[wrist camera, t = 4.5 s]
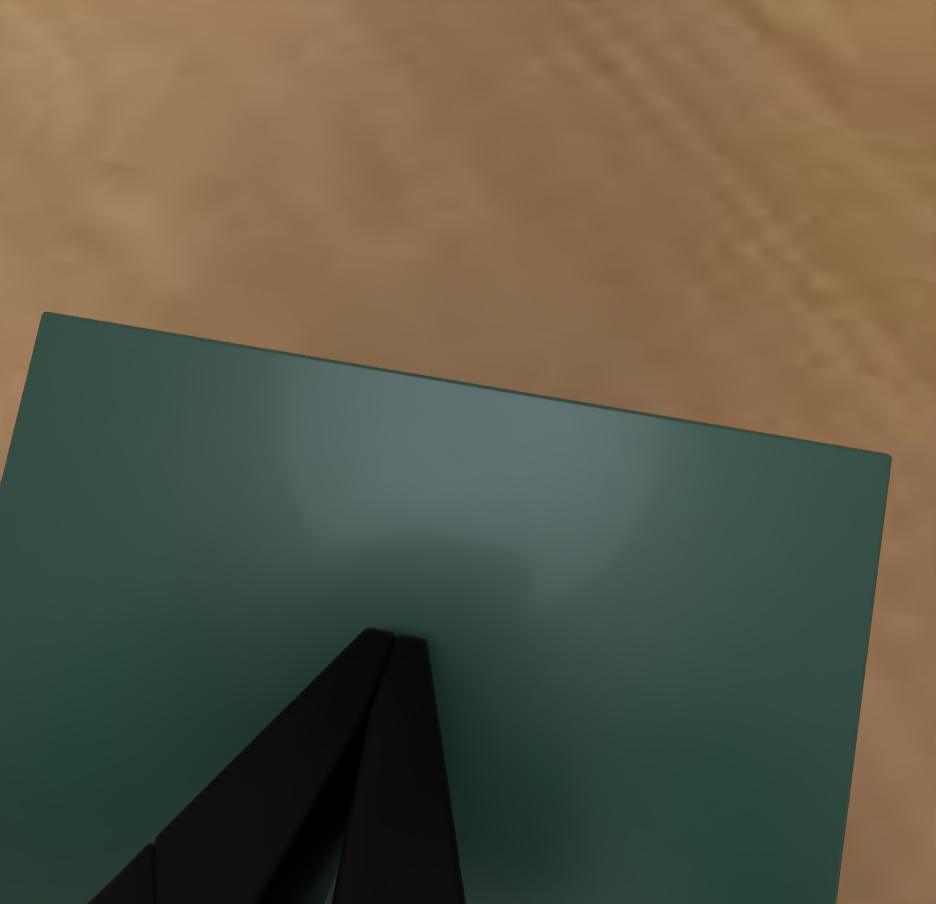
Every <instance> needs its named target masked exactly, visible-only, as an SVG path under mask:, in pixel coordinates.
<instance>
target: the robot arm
mask: <svg viewBox="0 0 936 904" xmlns="http://www.w3.org/2000/svg"><path fill="white" fill-rule="evenodd" d="M338 866H339V868H338ZM337 868H338V873H337V878H336V884H335V889H334V894H333V900H332V904H466V901H465V894H464V887H463V881H462V874H461V867H460V860H459V853H458V846H457V839H456V832H455V825H454V819H453V812H452V805H451V798H450V791H449V784H448V777H447V770H446V763H445V757H444V750H443V743H442V736H441V729H440V722H439V715H438V708H437V701H436V694H435V688H434V681H433V674H432V667H431V660H430V653H429V646H428V641H427V640H426V638H424V637H421V636H416V635H411V634H406V633H400V634H398V635H397V636H396V633H395V632H393V631H391V630H386V629H380V628H375V627H368V628H366V629H364V630H363V631H362V632H361V633H360V634H359V635H358V636H357V637H356V638H355V639H354V640H353V641H352V642H351V643H350V644H349V645H348V646H347V647H346V648H345V649H344V650H343V651H342V652H341V653H340V654H339V655H338V656H337V657H336V658H335V659H334V660H333V661H332V662H331V663H330V664H329V665H328V666H327V667H326V668H325V669H324V670H323V671H322V672H321V673H320V674H319V675H318V676H317V677H316V678H315V679H314V680H313V681H312V682H311V683H310V684H309V685H308V686H307V687H306V688H305V689H304V690H303V691H302V692H301V693H300V694H299V695H298V696H297V697H296V698H294V699H293V700H292V701H291V702H290V703H289V704H288V705H287V706H286V707H285V708H284V709H283V710H282V711H281V712H280V713H279V714H278V715H277V716H276V717H275V718H274V719H273V720H272V721H271V722H270V723H269V724H268V725H267V726H266V727H265V728H264V729H263V730H262V731H261V732H260V733H259V734H258V735H257V736H256V737H255V738H254V739H253V740H252V741H251V742H250V743H249V744H248V745H247V746H246V747H245V748H244V749H243V750H242V751H241V752H240V753H239V754H238V755H237V756H236V757H235V758H234V759H233V760H232V761H231V762H230V763H229V764H228V765H227V766H226V767H225V768H224V769H223V770H222V771H221V772H220V773H219V774H218V775H217V776H216V777H215V778H214V779H213V780H212V781H211V782H210V783H209V784H208V785H207V786H206V787H205V788H204V789H203V790H202V791H201V792H200V793H199V794H198V795H197V796H196V797H195V798H194V799H193V800H192V801H191V802H190V803H189V804H188V805H187V806H186V807H185V808H184V809H183V810H182V811H181V812H180V813H179V814H178V815H177V816H176V817H175V818H174V819H173V820H172V821H171V822H170V823H169V824H168V825H167V826H166V827H165V828H164V829H163V830H162V831H161V832H160V833H159V834H158V835H157V836H156V837H155V842H154V844H152V843H150V844H148V845H146V846H145V847H144V848H143V849H142V850H141V851H140V852H139V853H138V854H137V855H136V856H135V857H134V858H133V859H132V860H131V861H130V862H129V863H128V864H127V865H126V866H125V867H124V868H123V869H122V870H121V871H120V872H119V873H118V874H117V875H116V876H115V877H114V878H113V879H112V880H111V881H110V882H109V883H108V884H107V885H106V886H105V887H104V888H103V889H102V890H101V891H100V892H99V893H98V894H96V895H95V896H94V897H93V898H92V899H91V900H90V901H89V902H88V903H87V904H324V903H325V901H326V898H327V895H328V893H329V890H330V887H331V885H332V882H333V879H334V877H335V874H336V871H337Z"/></svg>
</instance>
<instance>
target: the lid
mask: <svg viewBox="0 0 936 904" xmlns="http://www.w3.org/2000/svg"><path fill="white" fill-rule="evenodd" d="M891 461H892V458H891V456H890V455H888V454H886V453H880V452H874V451H868V450H862V449H856V448H850V447H844V446H838V445H832V444H827V443H821V442H815V441H809V440H803V439H797V438H791V437H785V436H779V435H773V434H767V433H761V432H756V431H750V430H744V429H738V428H732V427H726V426H720V425H714V424H708V423H702V422H696V421H690V420H685V419H679V418H673V417H667V416H661V415H655V414H649V413H643V412H637V411H631V410H625V409H619V408H614V407H608V406H602V405H596V404H590V403H584V402H578V401H572V400H566V399H560V398H554V397H548V396H543V395H537V394H531V393H525V392H519V391H513V390H507V389H501V388H495V387H489V386H483V385H477V384H472V383H466V382H460V381H454V380H448V379H442V378H436V377H430V376H424V375H418V374H412V373H406V372H401V371H395V370H389V369H383V368H377V367H371V366H365V365H359V364H353V363H347V362H341V361H335V360H329V359H324V358H318V357H312V356H306V355H300V354H294V353H288V352H282V351H276V350H270V349H264V348H258V347H253V346H247V345H241V344H235V343H229V342H223V341H217V340H211V339H205V338H199V337H193V336H187V335H182V334H176V333H170V332H164V331H158V330H152V329H146V328H140V327H134V326H128V325H122V324H116V323H111V322H105V321H99V320H93V319H87V318H81V317H75V316H69V315H63V314H57V313H51V312H44V313H43V314H42V316H41V321H40V325H39V329H38V333H37V337H36V341H35V345H34V349H33V353H32V358H31V362H30V366H29V370H28V374H27V378H26V382H25V386H24V390H23V395H22V399H21V403H20V407H19V411H18V415H17V419H16V423H15V427H14V432H13V436H12V440H11V444H10V448H9V452H8V456H7V460H6V464H5V469H4V473H3V477H2V481H1V485H0V904H87V903H88V902H89V901H90V900H91V899H92V898H93V897H94V896H95V895H96V894H98V893H99V892H100V891H101V890H102V889H103V888H104V887H105V886H106V885H107V884H108V883H109V882H110V881H111V880H112V879H113V878H114V877H115V876H116V875H117V874H118V873H119V872H120V871H121V870H122V869H123V868H124V867H125V866H126V865H127V864H128V863H129V862H130V861H131V860H132V859H133V858H134V857H135V856H136V855H137V854H138V853H139V852H140V851H141V850H142V849H143V848H144V847H145V846H146V845H148V844H150V843H152V844H154V842H155V837H156V836H157V835H158V834H159V833H160V832H161V831H162V830H163V829H164V828H165V827H166V826H167V825H168V824H169V823H170V822H171V821H172V820H173V819H174V818H175V817H176V816H177V815H178V814H179V813H180V812H181V811H182V810H183V809H184V808H185V807H186V806H187V805H188V804H189V803H190V802H191V801H192V800H193V799H194V798H195V797H196V796H197V795H198V794H199V793H200V792H201V791H202V790H203V789H204V788H205V787H206V786H207V785H208V784H209V783H210V782H211V781H212V780H213V779H214V778H215V777H216V776H217V775H218V774H219V773H220V772H221V771H222V770H223V769H224V768H225V767H226V766H227V765H228V764H229V763H230V762H231V761H232V760H233V759H234V758H235V757H236V756H237V755H238V754H239V753H240V752H241V751H242V750H243V749H244V748H245V747H246V746H247V745H248V744H249V743H250V742H251V741H252V740H253V739H254V738H255V737H256V736H257V735H258V734H259V733H260V732H261V731H262V730H263V729H264V728H265V727H266V726H267V725H268V724H269V723H270V722H271V721H272V720H273V719H274V718H275V717H276V716H277V715H278V714H279V713H280V712H281V711H282V710H283V709H284V708H285V707H286V706H287V705H288V704H289V703H290V702H291V701H292V700H293V699H294V698H296V697H297V696H298V695H299V694H300V693H301V692H302V691H303V690H304V689H305V688H306V687H307V686H308V685H309V684H310V683H311V682H312V681H313V680H314V679H315V678H316V677H317V676H318V675H319V674H320V673H321V672H322V671H323V670H324V669H325V668H326V667H327V666H328V665H329V664H330V663H331V662H332V661H333V660H334V659H335V658H336V657H337V656H338V655H339V654H340V653H341V652H342V651H343V650H344V649H345V648H346V647H347V646H348V645H349V644H350V643H351V642H352V641H353V640H354V639H355V638H356V637H357V636H358V635H359V634H360V633H361V632H362V631H363V630H364V629H366V628H368V627H375V628H380V629H386V630H391V631H393V632H395V633H396V636H397V635H398V634H400V633H406V634H411V635H416V636H421V637H424V638H426V640H427V641H428V646H429V653H430V660H431V667H432V674H433V681H434V688H435V694H436V701H437V708H438V715H439V722H440V729H441V736H442V743H443V750H444V757H445V763H446V770H447V777H448V784H449V791H450V798H451V805H452V812H453V819H454V825H455V832H456V839H457V846H458V853H459V860H460V867H461V874H462V881H463V887H464V894H465V901H466V904H836V900H837V892H838V884H839V876H840V868H841V860H842V852H843V844H844V836H845V828H846V820H847V812H848V804H849V796H850V788H851V780H852V772H853V764H854V756H855V748H856V740H857V732H858V724H859V716H860V708H861V700H862V692H863V684H864V676H865V668H866V660H867V652H868V644H869V636H870V628H871V620H872V612H873V604H874V596H875V588H876V580H877V572H878V564H879V556H880V548H881V540H882V532H883V524H884V517H885V509H886V501H887V493H888V485H889V477H890V469H891ZM338 868H339V866H338ZM338 868H337V871H336V874H335V877H334V879H333V882H332V885H331V887H330V890H329V893H328V895H327V898H326V901H325V903H324V904H332V900H333V894H334V889H335V884H336V878H337V873H338Z"/></svg>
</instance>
